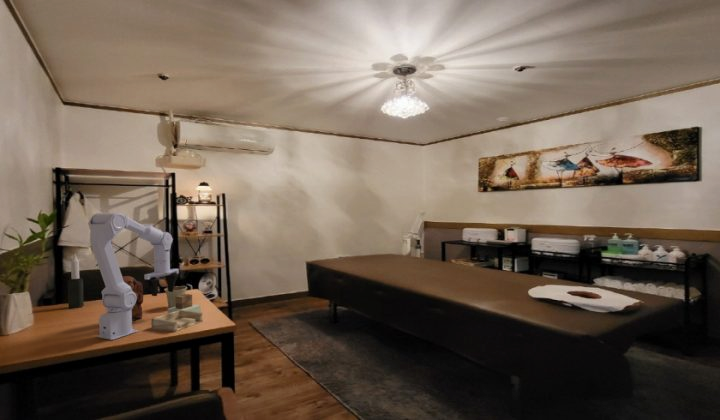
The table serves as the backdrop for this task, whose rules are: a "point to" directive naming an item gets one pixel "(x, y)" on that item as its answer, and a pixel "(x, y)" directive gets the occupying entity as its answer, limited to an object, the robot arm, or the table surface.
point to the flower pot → (171, 295)
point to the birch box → (176, 320)
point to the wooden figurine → (138, 290)
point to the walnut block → (183, 301)
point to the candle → (75, 286)
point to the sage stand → (186, 309)
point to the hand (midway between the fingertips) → (162, 293)
